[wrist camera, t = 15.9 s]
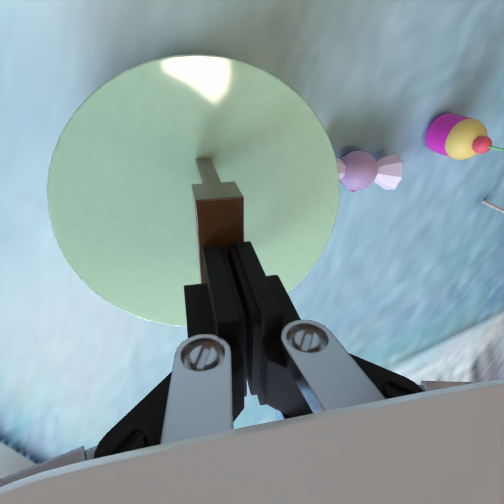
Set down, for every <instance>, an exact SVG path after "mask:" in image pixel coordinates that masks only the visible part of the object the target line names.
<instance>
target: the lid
mask: <svg viewBox="0 0 504 504" xmlns="http://www.w3.org/2000/svg"><path fill="white" fill-rule="evenodd" d="M339 192H340V187H339V172H338V166H337V161H336V156H335V153H334V150H333V147H332V144H331V141H330V138H329V137H328V135H327V133H326V131H325V129H324V127H323V125H322V123H321V121H320V120H319V118H318V117H317V115H316V114H315V113H314V111H313V110H312V108H311V107H310V106H309V105H308V104H307V103H306V102H305V101H304V99H303V98H302V97H301V96H300V95H299V94H298V93H297V92H296V91H294V90H293V89H292V88H291V87H289V86H288V85H287V84H286V83H284V82H283V81H282V80H280V79H279V78H277V77H275V76H274V75H272V74H270V73H268V72H267V71H265V70H263V69H261V68H258V67H256V66H253V65H251V64H248V63H246V62H243V61H240V60H236V59H231V58H227V57H223V56H218V55H205V54H184V55H171V56H167V57H163V58H158V59H154V60H149V61H147V62H144V63H142V64H139V65H137V66H134V67H132V68H129V69H127V70H125V71H124V72H122V73H120V74H119V75H117V76H115V77H113V78H112V79H110V80H108V81H107V82H105V83H104V84H103V85H102V86H101V87H99V88H98V89H97V90H96V91H94V92H93V93H92V94H91V95H90V96H89V97H88V98H87V99H86V100H85V101H84V102H83V103H82V104H81V106H80V107H79V108H78V109H77V110H76V111H75V112H74V114H73V115H72V117H71V118H70V120H69V121H68V123H67V125H66V126H65V128H64V129H63V131H62V133H61V135H60V138H59V140H58V142H57V145H56V147H55V149H54V152H53V156H52V160H51V164H50V168H49V172H48V184H47V200H48V212H49V216H50V221H51V225H52V229H53V232H54V235H55V237H56V240H57V242H58V245H59V247H60V249H61V251H62V253H63V254H64V256H65V258H66V260H67V261H68V263H69V265H70V266H71V267H72V268H73V270H74V271H75V272H76V274H77V275H78V276H79V278H80V279H81V280H82V281H83V282H84V283H85V284H86V285H87V286H88V287H89V288H90V289H91V290H93V291H94V292H95V293H96V294H98V295H99V296H100V297H102V298H103V299H104V300H105V301H107V302H109V303H110V304H112V305H114V306H115V307H117V308H119V309H120V310H123V311H125V312H127V313H129V314H131V315H134V316H136V317H139V318H142V319H145V320H148V321H152V322H156V323H161V324H166V325H174V326H187V320H186V308H185V296H184V285H193V284H201V283H204V270H203V256H202V246H207V245H217V244H218V246H219V248H225V251H226V254H227V258H228V261H229V247H234V243H237V242H247V241H250V242H251V243H252V246H253V248H254V250H255V252H256V255H257V257H258V259H259V261H260V263H261V266H262V268H263V270H264V272H265V275H266V276H269V275H278V276H279V278H280V280H281V282H282V284H283V286H284V288H285V290H286V292H287V293H288V292H289V291H291V290H292V289H293V288H294V287H295V286H296V285H297V284H298V283H299V282H300V281H301V280H302V279H303V278H304V277H305V276H306V275H307V274H308V273H309V271H310V270H311V269H312V267H313V266H314V265H315V264H316V262H317V260H318V259H319V257H320V256H321V254H322V252H323V251H324V249H325V247H326V244H327V242H328V240H329V238H330V236H331V233H332V230H333V227H334V224H335V220H336V215H337V211H338V205H339Z"/></svg>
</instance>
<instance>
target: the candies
mask: <svg viewBox="0 0 504 504" xmlns="http://www.w3.org/2000/svg"><path fill="white" fill-rule="evenodd" d="M426 144H427V146H428V148H429V149H431V150H432V151H435V152H437V153H440V154H443V155H445V156H448V157H450V158H453V159H458V160H464V159H468V158H471V157H473V156H475V155H477V154H478V153H485V152H487V151H488V150H489V149H490V148H491V149H495V150H499V151H504V149H501V148H497V147H493V146H492V141H491V139H490V138H489V137H487V130H486V128H485V126H484V125H483V124H482V123H481V122H480V121H478V120H476V119H472V118H468V117H464V116H459V115H455V114H450V113H447V114H443V115H441V116H439V117H437V118H436V119H435V120H434V121H433V122H432V123H431V125H430V126H429V128H428V131H427V134H426ZM336 161H337V166H338V172H339V180H340V182H341V183H342V184H343V185H344V186H345V187H347V188H348V189H350V190H351V191H352V192H353V191H356V190H361V189H364V188H366V187H368V186H369V185H371V184H372V183H373V181H374V182H375V183H377V184H378V185H380V186H381V187H383V188H384V189H386V190H388V189H395V188H396V186H397V185H398V183H399V181H400V180H401V178H402V169H403V161H402V160H401V158H400V157H399V155H398V154H397V153H393V154H389V155H386V156H384V157H382V158H380V159H379V160H377V161H376V160H375V159H374V157H373V156H372V155H371V154H369V153H368V152H365V151H361V150H359V151H352V152H350V153H348V154H346V155H345V156H344V157H343V158H342V159H339V158H338V157H336ZM482 203H484V204H486V205H488V206H490V207H492V208H494V209H496V210H498V211H500V212H502V213H504V209H502V208H500V207H498V206H496V205H494V204H492V203H490V202H488V201H485V200H483V201H482Z"/></svg>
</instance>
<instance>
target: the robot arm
mask: <svg viewBox="0 0 504 504" xmlns="http://www.w3.org/2000/svg"><path fill="white" fill-rule="evenodd" d="M202 256H203V270H204V283H201V284H193V285H184V296H185V308H186V320H187V331H188V339H186V340H185V341H183V342H182V343H181V344H180V346H179V347H178V348H177V350H176V353H175V357H174V363H173V369H172V372H171V373H170V374H169V375H168V376H167V377H166V378H165V379H164V380H163V381H162V382H161V383H159V384H158V385H157V386H156V387H155V388H154V389H153V390H152V391H151V392H150V393H149V394H148V395H147V396H146V397H145V398H144V399H143V400H141V401H140V402H139V403H138V404H137V405H136V406H135V407H134V408H133V409H132V410H131V411H130V412H129V413H128V414H127V415H126V416H125V417H124V418H122V419H121V420H120V421H119V422H118V423H117V424H116V425H115V426H114V427H113V428H112V429H111V430H110V431H109V432H108V433H107V434H106V435H105V436H104V437H103V439H102V440H101V441H100V442H99V444H98V445H97V446H95V447H92V448H90V449H87V450H85V448H84V446H82V447H80V448H77V449H75V450H72V451H70V452H67V453H65V454H62V455H60V456H57V457H55V458H52V459H50V460H47V461H45V462H42V463H40V464H37V465H35V466H32V467H30V468H27V469H24V470H22V471H19V472H17V473H14V474H12V475H9V476H7V477H5V478H2V479H0V504H504V380H496V381H488V382H444V381H421V383H420V385H417V384H416V383H415V382H413V381H411V380H410V379H408V378H406V377H404V376H401V375H399V374H397V373H394V372H392V371H390V370H387V369H385V368H382V367H380V366H378V365H375V364H373V363H371V362H368V361H366V360H364V359H361V358H359V357H356V356H354V355H352V354H349V353H348V352H347V351H346V350H345V348H344V347H343V346H342V345H341V343H340V342H339V341H338V340H337V339H336V337H335V336H334V335H333V334H332V333H331V331H330V330H329V329H328V328H326V327H325V326H324V325H322V324H320V323H318V322H315V321H312V320H301V319H300V317H299V315H298V313H297V311H296V310H295V308H294V306H293V304H292V302H291V300H290V298H289V296H288V294H287V292H286V290H285V288H284V286H283V284H282V282H281V280H280V278H279V276H278V275H269V276H266V275H265V272H264V270H263V268H262V266H261V263H260V261H259V259H258V257H257V255H256V252H255V250H254V248H253V246H252V243H251V242H250V241H247V242H237V243H234V247H229V261H228V258H227V254H226V251H225V248H219V246H218V244H217V245H207V246H202ZM247 381H248V385H249V389H250V393H251V395H256V394H257V395H258V399H259V403H260V405H264V404H267V405H269V406H271V407H273V408H275V409H276V415H277V418H278V421H273V422H268V423H263V424H258V425H253V426H248V427H243V428H238V429H233V422H234V421H235V419H236V418H237V417H238V415H239V414H240V413H241V411H242V410H243V409H244V397H245V396H246V395H247Z"/></svg>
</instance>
